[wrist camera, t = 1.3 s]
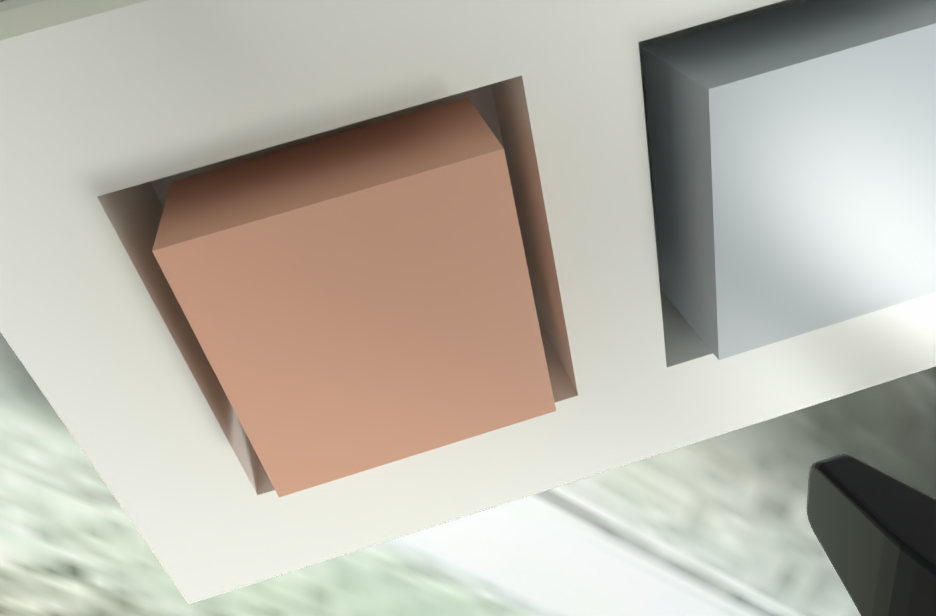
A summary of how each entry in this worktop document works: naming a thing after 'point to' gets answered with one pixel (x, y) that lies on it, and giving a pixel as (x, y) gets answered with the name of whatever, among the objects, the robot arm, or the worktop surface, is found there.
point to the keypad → (327, 114)
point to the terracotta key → (361, 293)
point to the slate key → (795, 167)
